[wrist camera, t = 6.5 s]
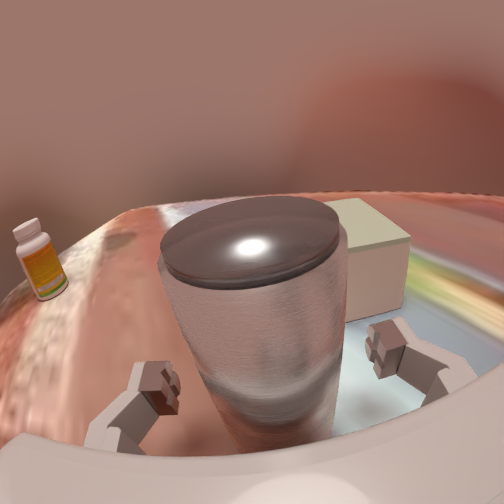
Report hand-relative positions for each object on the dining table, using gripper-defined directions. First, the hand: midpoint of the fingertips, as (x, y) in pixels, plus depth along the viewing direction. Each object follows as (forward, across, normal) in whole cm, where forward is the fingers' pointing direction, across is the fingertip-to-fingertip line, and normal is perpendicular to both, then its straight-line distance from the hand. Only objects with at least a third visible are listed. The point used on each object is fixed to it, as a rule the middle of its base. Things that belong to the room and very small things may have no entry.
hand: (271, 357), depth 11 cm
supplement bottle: (+19, +27, +6) cm, 34 cm away
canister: (-1, 0, +6) cm, 6 cm away
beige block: (+11, -6, +6) cm, 14 cm away
